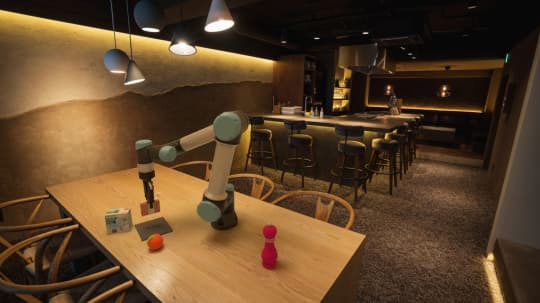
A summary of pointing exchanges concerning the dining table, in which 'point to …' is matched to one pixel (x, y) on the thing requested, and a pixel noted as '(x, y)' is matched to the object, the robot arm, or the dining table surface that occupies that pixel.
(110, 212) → the light bulb box
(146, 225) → the mat
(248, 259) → the dining table surface
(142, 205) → the block
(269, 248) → the pink bowling pin
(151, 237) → the clementine
